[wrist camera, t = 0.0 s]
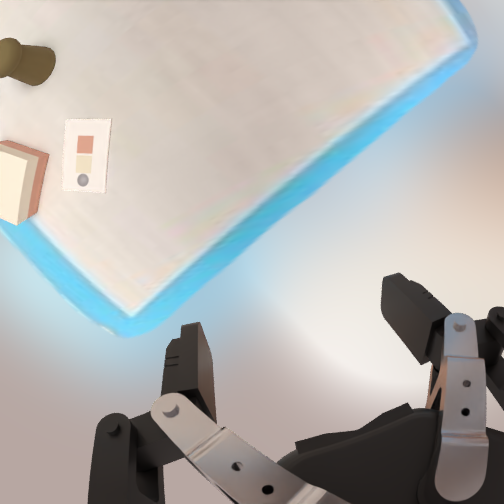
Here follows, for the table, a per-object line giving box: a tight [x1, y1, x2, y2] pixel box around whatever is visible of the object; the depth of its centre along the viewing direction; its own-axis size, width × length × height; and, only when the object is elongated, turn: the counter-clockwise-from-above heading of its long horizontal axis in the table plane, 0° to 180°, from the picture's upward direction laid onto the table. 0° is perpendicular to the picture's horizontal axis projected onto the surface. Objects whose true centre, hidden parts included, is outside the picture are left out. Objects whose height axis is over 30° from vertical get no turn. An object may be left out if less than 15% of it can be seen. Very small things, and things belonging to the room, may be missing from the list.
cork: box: [0, 38, 55, 86], centre depth 22 cm, size 6×6×11 cm
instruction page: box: [62, 119, 112, 193], centre depth 34 cm, size 10×7×1 cm
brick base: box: [0, 140, 49, 225], centre depth 30 cm, size 9×9×6 cm
